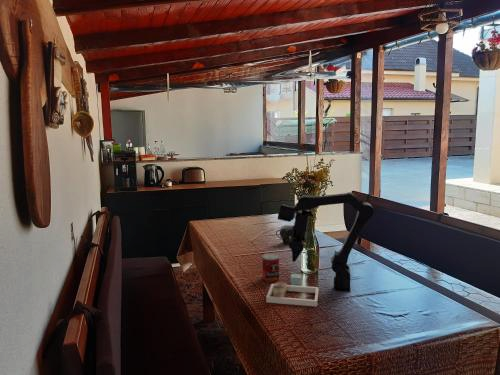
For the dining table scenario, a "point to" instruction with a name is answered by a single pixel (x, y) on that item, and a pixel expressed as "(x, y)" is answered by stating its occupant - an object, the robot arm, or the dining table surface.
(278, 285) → the maple block
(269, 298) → the tray
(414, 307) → the dining table surface
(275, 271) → the canned food
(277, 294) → the maple block
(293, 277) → the block teal
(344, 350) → the dining table surface
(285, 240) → the coffee mug
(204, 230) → the dining table surface
